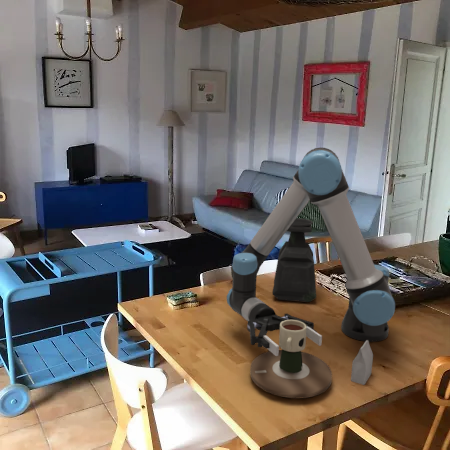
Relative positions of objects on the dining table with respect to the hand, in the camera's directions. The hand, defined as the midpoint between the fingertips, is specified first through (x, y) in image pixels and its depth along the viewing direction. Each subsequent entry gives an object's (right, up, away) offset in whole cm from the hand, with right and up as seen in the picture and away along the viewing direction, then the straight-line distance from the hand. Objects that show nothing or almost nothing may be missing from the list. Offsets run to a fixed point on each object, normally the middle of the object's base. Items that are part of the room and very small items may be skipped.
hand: (299, 345), depth 128 cm
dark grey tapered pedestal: (+8, +4, +65) cm, 66 cm away
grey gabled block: (+18, -11, +8) cm, 23 cm away
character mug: (-2, -8, +5) cm, 9 cm away
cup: (-14, +7, +75) cm, 76 cm away
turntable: (-2, -9, +5) cm, 11 cm away
